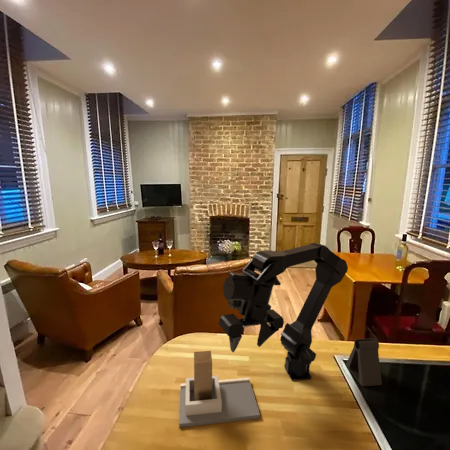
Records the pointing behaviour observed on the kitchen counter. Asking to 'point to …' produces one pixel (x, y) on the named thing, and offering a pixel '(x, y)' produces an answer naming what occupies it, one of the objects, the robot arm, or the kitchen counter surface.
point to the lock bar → (202, 375)
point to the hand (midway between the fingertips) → (245, 348)
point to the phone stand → (365, 362)
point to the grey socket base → (218, 403)
